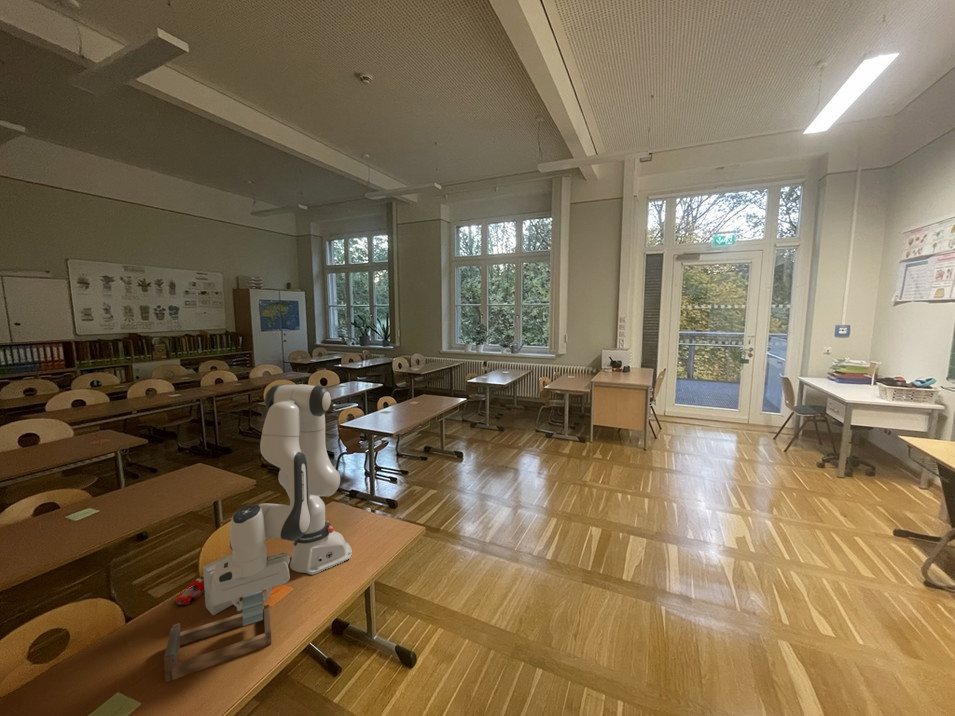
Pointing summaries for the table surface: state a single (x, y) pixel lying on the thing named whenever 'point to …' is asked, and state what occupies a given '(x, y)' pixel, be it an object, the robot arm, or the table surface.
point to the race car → (192, 592)
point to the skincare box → (208, 577)
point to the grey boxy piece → (252, 608)
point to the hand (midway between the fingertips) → (252, 604)
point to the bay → (215, 656)
